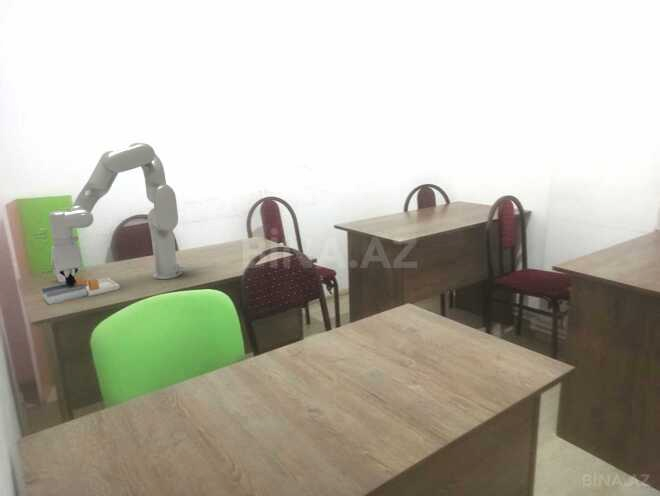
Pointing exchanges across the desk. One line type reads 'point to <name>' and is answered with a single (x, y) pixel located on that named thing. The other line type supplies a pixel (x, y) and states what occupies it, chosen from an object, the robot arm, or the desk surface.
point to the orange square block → (93, 284)
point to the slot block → (63, 292)
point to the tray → (103, 287)
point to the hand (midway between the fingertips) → (71, 285)
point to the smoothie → (60, 277)
